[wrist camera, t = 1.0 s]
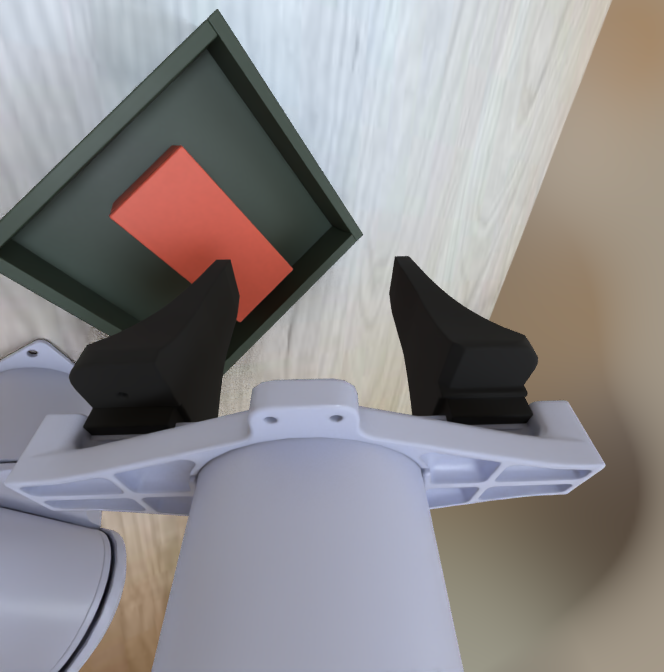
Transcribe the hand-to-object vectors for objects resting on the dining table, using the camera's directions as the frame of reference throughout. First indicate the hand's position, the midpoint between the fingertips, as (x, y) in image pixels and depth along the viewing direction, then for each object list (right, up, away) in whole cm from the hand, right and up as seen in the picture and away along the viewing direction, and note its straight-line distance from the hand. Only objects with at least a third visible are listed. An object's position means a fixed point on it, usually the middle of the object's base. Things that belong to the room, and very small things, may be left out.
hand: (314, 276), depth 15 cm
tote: (-8, +5, +8) cm, 12 cm away
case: (-8, +4, +8) cm, 12 cm away
